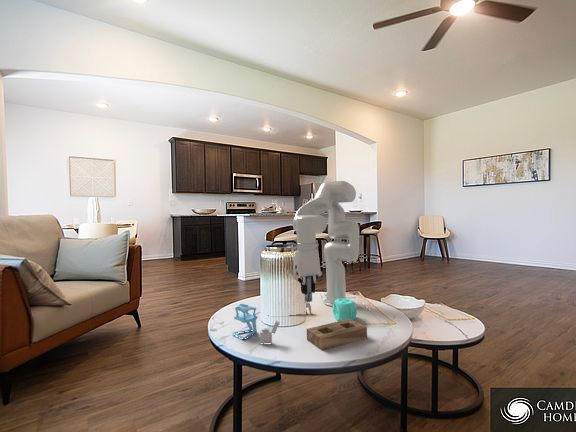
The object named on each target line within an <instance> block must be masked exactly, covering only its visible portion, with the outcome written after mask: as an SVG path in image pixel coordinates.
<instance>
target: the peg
mask: <svg viewBox="0 0 576 432" xmlns="http://www.w3.org/2000/svg"><path fill="white" fill-rule="evenodd" d="M305 284H306V285H307V294H306V295H305V294H304V302H305V301H306V303H307V302H308V303H310V302H311V303H312V302H313V293H312V279H311V276H306V279H305Z"/></svg>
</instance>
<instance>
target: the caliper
mask: <svg viewBox="0 0 576 432" xmlns="http://www.w3.org/2000/svg"><path fill="white" fill-rule="evenodd" d="M304 304H306V313H305V314H306V315H308V311H309V314H310V315H311V314H312V306H311V303H310V302H306V301H305V300H304ZM307 308H308V310H307Z"/></svg>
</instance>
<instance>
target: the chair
mask: <svg viewBox="0 0 576 432" xmlns="http://www.w3.org/2000/svg"><path fill="white" fill-rule="evenodd" d="M234 309H235V312H236V313H235V314H236V316H233V317H234V320H236V321H239V322H241V323H244V324H245V323H246V325H247V329H243V330H238V331H233V332H232V333H231V335H232V334H235V335H237V336H238V337H240V338H243V339H245V338H247V337H249V336H251V335H252V334H254V333H255V332H257V333H258V330H257V319H258V315H256V310H257V307H256V306H255V307H253V306H250V305H249V304H245V303H240V304H238V305H236V306H235V307H234ZM249 311H253V312H252V313H249ZM239 312H241V313H242V314H239ZM251 324H252V325H251ZM251 330H253V331H252V332H248V334H246V335H245V336H241V334H236V333H238V332H245V331H251ZM255 334H256V333H255ZM255 334H254V335H255ZM252 336H253V335H252ZM252 336H251V337H252ZM249 338H250V337H249Z"/></svg>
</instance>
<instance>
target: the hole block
mask: <svg viewBox="0 0 576 432" xmlns="http://www.w3.org/2000/svg"><path fill="white" fill-rule="evenodd" d="M367 338H368V327H367V326H366V325H364V324H361V323H359V322H357V321H356V320H351V319H347V320H343V321H335V322H331V323H326V324H321V325H317V326H314V327H309V328H306V340H307V341H308V342H309V343H311V344H312V345H314V347H316V348H318V349H320V350H321V351H325V350H327V349H331V348H335V347H339V346H342V345H346V344H350V343H353V342H357V341H360V340H364V339H367Z"/></svg>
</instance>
